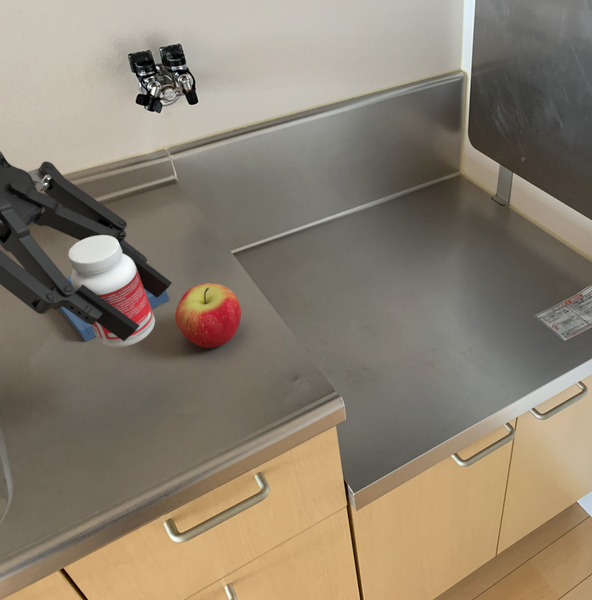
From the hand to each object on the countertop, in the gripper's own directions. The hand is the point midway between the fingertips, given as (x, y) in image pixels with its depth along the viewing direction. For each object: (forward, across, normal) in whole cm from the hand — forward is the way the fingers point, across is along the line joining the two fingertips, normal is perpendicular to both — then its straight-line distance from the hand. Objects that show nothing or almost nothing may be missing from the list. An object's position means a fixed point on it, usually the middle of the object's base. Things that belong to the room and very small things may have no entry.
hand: (148, 310), depth 64 cm
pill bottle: (0, 0, -5) cm, 5 cm away
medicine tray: (-3, -17, -26) cm, 31 cm away
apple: (+11, -12, -13) cm, 21 cm away
